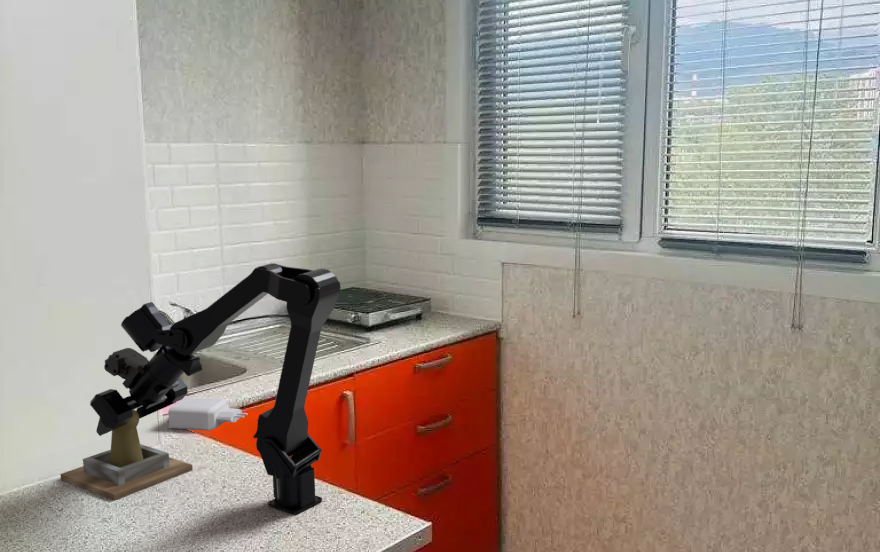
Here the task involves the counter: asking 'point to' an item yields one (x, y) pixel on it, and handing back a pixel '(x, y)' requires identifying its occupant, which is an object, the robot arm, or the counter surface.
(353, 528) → the counter surface
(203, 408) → the charger
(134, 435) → the cork
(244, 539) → the counter surface
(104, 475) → the socket base
